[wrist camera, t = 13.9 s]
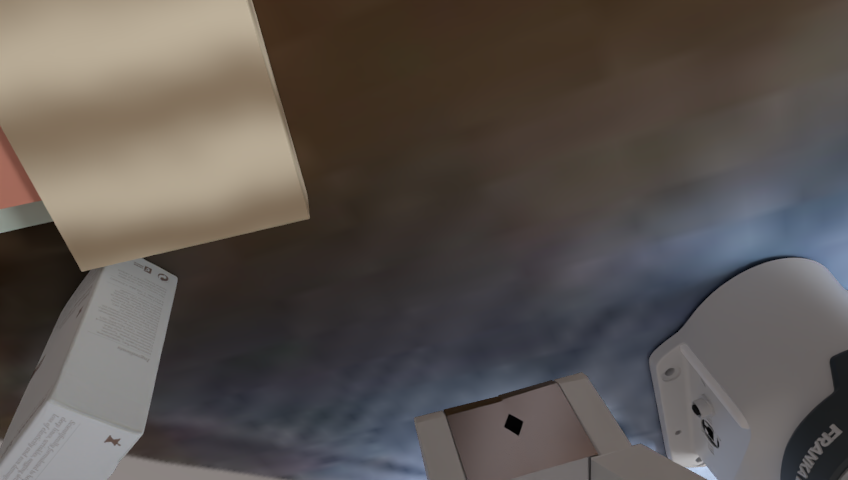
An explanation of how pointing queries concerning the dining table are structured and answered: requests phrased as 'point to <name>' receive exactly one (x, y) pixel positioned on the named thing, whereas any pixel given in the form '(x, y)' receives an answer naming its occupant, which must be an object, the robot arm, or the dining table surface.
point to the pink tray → (13, 178)
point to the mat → (23, 216)
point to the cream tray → (147, 123)
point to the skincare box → (93, 377)
